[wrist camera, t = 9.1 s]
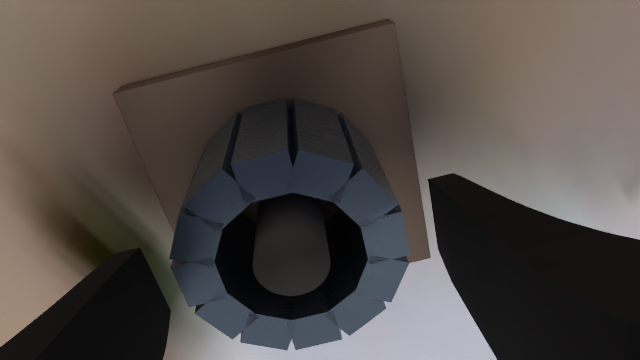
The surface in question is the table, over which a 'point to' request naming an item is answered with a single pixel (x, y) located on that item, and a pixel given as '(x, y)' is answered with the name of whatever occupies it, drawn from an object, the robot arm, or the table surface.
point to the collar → (275, 180)
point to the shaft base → (291, 82)
